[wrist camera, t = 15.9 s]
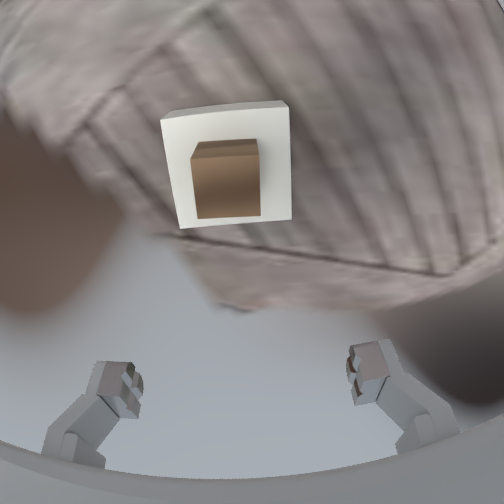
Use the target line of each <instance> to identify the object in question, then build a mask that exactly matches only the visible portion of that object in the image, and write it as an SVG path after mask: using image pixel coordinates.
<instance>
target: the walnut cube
mask: <svg viewBox="0 0 504 504" xmlns="http://www.w3.org/2000/svg"><path fill="white" fill-rule="evenodd" d="M190 163H191V172H192V180H193V188H194V196H195V204H196V212H197V219H211V218H230V217H251V216H261V203H260V165H259V151H258V145H257V140H256V139H234V140H218V141H204V142H198V144H197V146H196V148H195V150H194V152H193V154H192V156H191V158H190Z"/></svg>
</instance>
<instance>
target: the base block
mask: <svg viewBox="0 0 504 504" xmlns="http://www.w3.org/2000/svg"><path fill="white" fill-rule="evenodd" d="M160 122H161V128H162V134H163V141H164V147H165V152H166V158H167V164H168V169H169V175H170V180H171V186H172V191H173V196H174V201H175V206H176V211H177V216H178V221H179V226H180V229H182V228H193V227H204V226H215V225H227V224H239V223H252V222H265V221H278V220H292V214H291V157H290V125H289V107H288V106H287V105H286V104H285V103H284V102H283V101H282V100H277V101H258V102H244V103H232V104H222V105H212V106H204V107H196V108H188V109H181V110H174V111H170V112H169V113H168V114H167V115H165V116H164V117H163V118H162V119H161V120H160ZM234 139H256V140H257V145H258V151H259V165H260V203H261V216H251V217H230V218H211V219H197V212H196V204H195V196H194V188H193V180H192V172H191V163H190V158H191V156H192V154H193V152H194V150H195V148H196V146H197V144H198V142H204V141H218V140H234Z"/></svg>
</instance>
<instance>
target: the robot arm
mask: <svg viewBox="0 0 504 504" xmlns="http://www.w3.org/2000/svg"><path fill="white" fill-rule="evenodd" d="M498 1H499V3H500V5H501V7H502V8H503V10H504V0H498ZM349 354H350V356H349V357H348V358H347V362H346V372H347V377H348V381H349V382H350V383H351V384H352V385H353V386H352V389H351V393H352V397H353V400H354V404H355V406H356V405H362V404H367V403H373V402H376V404H377V405H378V406H379V407H380V408H381V409H382V410H383V411H384V412H385V413H386V414H387V415H388V416H389V417H390V418H391V419H392V420H393V421H394V422H395V423H396V424H397V425H398V426H399V427H400V428H402V430H403V431H404V433H403V434H402V436H401V437H400V438H399V440H398V441H397V442H396V443H395V445H396V449H397V453H398V455H394V456H391V457H387V458H383V459H379V460H375V461H371V462H366V463H362V464H357V465H353V466H348V467H343V468H337V469H332V470H326V471H320V472H313V473H306V474H297V475H289V476H279V477H267V478H250V479H188V478H171V477H157V476H149V475H140V474H132V473H125V472H118V471H112V470H106V469H105V462H106V459H105V457H104V456H103V455H101V454H100V453H99V452H97V451H96V450H97V448H98V447H99V446H100V444H101V443H102V442H103V441H104V439H105V438H106V436H107V435H108V434H109V433H110V431H111V430H112V429H113V427H114V426H115V425H116V424H117V422H118V421H119V418H128V419H138V417H139V412H140V407H141V404H140V403H139V401H138V400H139V398H140V397H141V396H142V395H143V389H144V388H143V380H142V377H141V375H140V374H139V373H138V372H136V371H135V366H134V364H133V363H132V362H111V361H97V362H96V363H95V364H94V367H93V370H92V374H91V377H90V380H89V383H88V386H87V390H86V393H85V394H82V395H81V396H80V397H79V398H78V399H77V400H76V401H75V402H74V403H73V404H72V405H71V406H70V407H69V408H68V409H67V410H66V411H65V412H64V413H63V414H62V415H61V416H60V417H59V418H58V419H57V420H56V421H54V422H53V423H52V424H51V426H49V427H48V430H47V434H46V437H45V441H44V445H43V449H42V452H41V454H39V453H36V452H33V451H29V450H26V449H23V448H20V447H17V446H14V445H12V444H9V443H6V442H3V441H1V440H0V504H504V414H502V415H500V416H498V417H496V418H494V419H491V420H489V421H487V422H485V423H483V424H481V425H478V426H476V427H474V428H472V429H469V430H467V431H464V432H462V433H460V431H459V427H458V425H457V423H456V420H455V417H454V414H453V412H452V409H451V406H450V404H448V403H447V402H446V401H444V400H443V399H441V398H440V397H439V396H438V395H436V394H435V393H433V392H432V391H431V390H430V389H428V388H427V387H426V386H424V385H423V384H421V383H420V382H419V381H418V380H416V379H415V378H413V377H412V376H411V375H409V374H408V373H403V370H402V367H401V365H400V362H399V360H398V357H397V355H396V352H395V350H394V347H393V345H392V343H391V341H390V340H389V339H385V340H381V341H373V342H367V343H362V344H356V345H351V346H350V348H349Z"/></svg>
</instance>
